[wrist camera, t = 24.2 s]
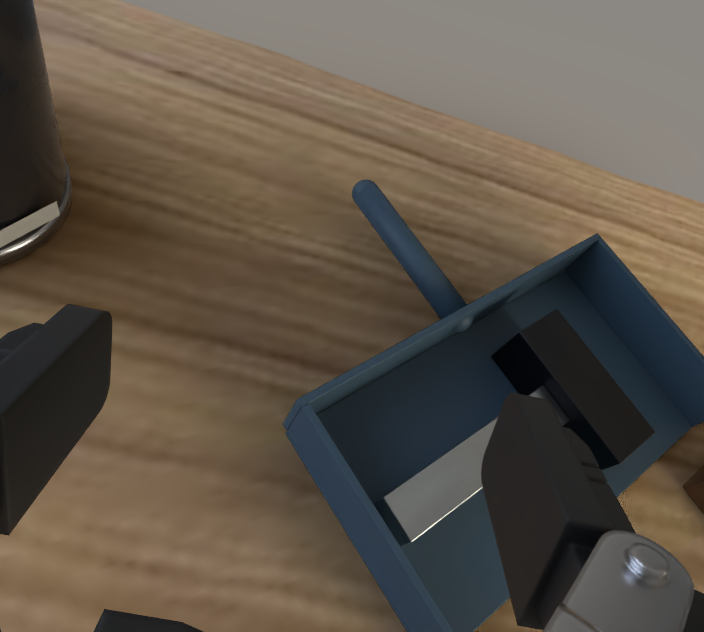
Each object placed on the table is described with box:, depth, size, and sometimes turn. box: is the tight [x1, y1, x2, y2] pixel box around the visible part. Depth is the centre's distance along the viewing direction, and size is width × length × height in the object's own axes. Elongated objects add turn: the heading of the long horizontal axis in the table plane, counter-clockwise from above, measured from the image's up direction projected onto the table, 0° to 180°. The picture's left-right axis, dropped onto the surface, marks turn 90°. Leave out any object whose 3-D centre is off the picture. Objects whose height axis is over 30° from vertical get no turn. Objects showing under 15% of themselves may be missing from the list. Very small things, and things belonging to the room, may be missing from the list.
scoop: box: [283, 180, 704, 632], centre depth 32 cm, size 22×22×4 cm
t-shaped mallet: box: [373, 309, 655, 546], centre depth 29 cm, size 14×8×3 cm, turn 125°
